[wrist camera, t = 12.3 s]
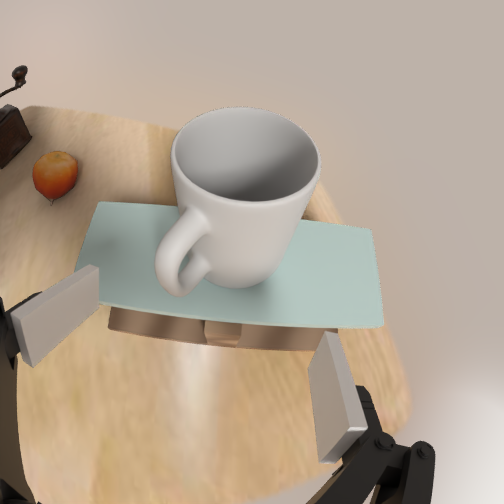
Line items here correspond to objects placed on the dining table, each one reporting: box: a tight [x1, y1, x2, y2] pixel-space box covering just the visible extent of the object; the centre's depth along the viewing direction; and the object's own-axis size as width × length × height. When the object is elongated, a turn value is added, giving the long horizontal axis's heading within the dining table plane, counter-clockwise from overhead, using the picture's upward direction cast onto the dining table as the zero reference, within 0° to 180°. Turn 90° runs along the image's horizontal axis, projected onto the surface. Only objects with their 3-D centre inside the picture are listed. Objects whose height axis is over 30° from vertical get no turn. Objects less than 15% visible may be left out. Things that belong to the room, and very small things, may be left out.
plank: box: [74, 201, 384, 328], centre depth 23 cm, size 28×10×1 cm, turn 87°
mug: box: [154, 107, 321, 297], centre depth 18 cm, size 12×8×11 cm
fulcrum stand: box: [108, 306, 338, 351], centre depth 28 cm, size 26×12×8 cm, turn 87°
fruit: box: [32, 151, 78, 206], centre depth 33 cm, size 8×8×8 cm
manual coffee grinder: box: [0, 65, 32, 169], centre depth 32 cm, size 16×11×18 cm
